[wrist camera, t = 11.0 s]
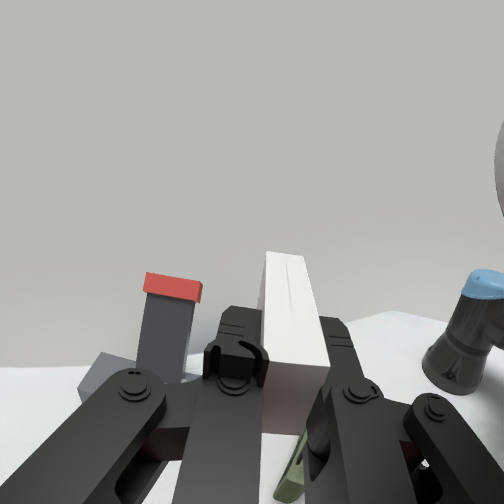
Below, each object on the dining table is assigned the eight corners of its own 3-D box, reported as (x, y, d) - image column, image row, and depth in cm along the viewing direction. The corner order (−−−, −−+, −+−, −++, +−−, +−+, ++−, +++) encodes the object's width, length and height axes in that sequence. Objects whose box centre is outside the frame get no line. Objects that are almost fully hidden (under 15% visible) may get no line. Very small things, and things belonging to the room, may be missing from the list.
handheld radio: (267, 497, 27) (320, 379, 49) (292, 506, 26) (338, 385, 48) (281, 477, 24) (333, 351, 46) (311, 487, 23) (352, 358, 45)
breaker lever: (186, 390, 36) (202, 285, 40) (182, 395, 33) (200, 281, 37) (136, 379, 36) (152, 276, 40) (128, 382, 33) (146, 272, 37)
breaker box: (234, 406, 41) (238, 379, 39) (228, 451, 33) (233, 427, 31) (108, 378, 41) (102, 350, 39) (86, 416, 33) (77, 388, 31)
